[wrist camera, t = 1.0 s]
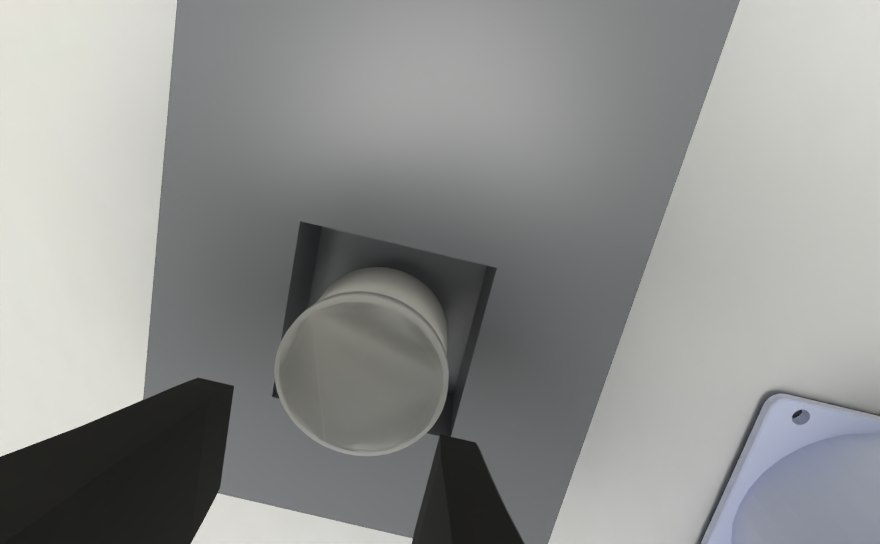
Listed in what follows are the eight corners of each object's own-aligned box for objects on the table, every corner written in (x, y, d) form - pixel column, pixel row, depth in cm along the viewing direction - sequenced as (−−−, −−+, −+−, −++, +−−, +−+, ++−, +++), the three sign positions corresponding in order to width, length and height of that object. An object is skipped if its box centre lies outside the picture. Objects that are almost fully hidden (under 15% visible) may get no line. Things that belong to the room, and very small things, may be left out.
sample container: (467, 282, 14) (466, 321, 12) (434, 411, 15) (426, 472, 13) (322, 247, 14) (288, 278, 11) (298, 379, 15) (263, 434, 13)
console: (293, -522, 12) (238, -718, 9) (822, -387, 12) (930, -539, 9) (187, 419, 19) (137, 474, 16) (529, 498, 19) (539, 567, 16)
